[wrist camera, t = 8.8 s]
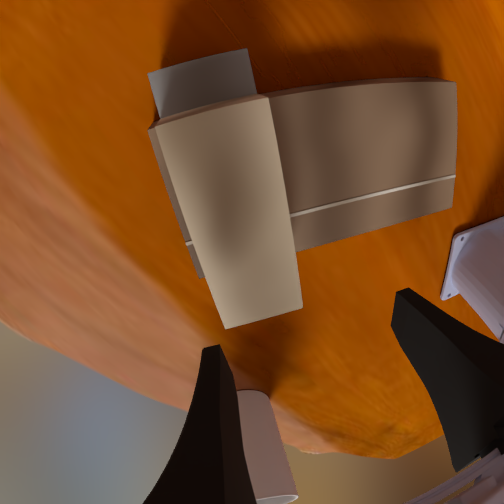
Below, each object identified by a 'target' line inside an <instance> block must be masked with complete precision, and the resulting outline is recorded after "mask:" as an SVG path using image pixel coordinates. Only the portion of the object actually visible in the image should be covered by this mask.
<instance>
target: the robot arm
mask: <svg viewBox="0 0 504 504" xmlns="http://www.w3.org/2000/svg"><path fill="white" fill-rule="evenodd" d="M459 293H460V294H461V295H462V296H463V298H464V299H465V300H466V301H467V302H468V303H469V304H470V306H471V307H472V308H473V309H474V310H475V311H476V313H477V314H478V315H479V316H480V317H481V318H482V320H483V321H484V322H485V323H486V324H487V326H488V327H489V328H490V329H491V331H492V332H493V333H494V334H495V336H496V337H497V338H498V339H499V341H500V342H497V341H495V340H493V339H491V338H489V337H487V336H485V335H483V334H481V333H479V332H477V331H475V330H473V329H471V328H470V327H468V326H466V325H464V324H463V323H461V322H459V321H458V320H456V319H455V318H453V317H451V316H450V315H448V314H447V313H445V312H444V311H442V310H441V309H439V308H438V307H436V306H435V305H433V304H432V303H431V302H429V301H428V300H426V299H425V298H423V297H422V296H420V295H419V294H417V293H416V292H414V291H413V290H411V289H410V288H406V289H403V290H400V291H398V292H396V296H395V303H394V309H393V315H392V321H391V327H392V329H393V332H394V334H395V336H396V338H397V340H398V342H399V344H400V346H401V348H402V349H403V351H404V353H405V354H406V356H407V358H408V359H409V361H410V362H411V364H412V366H413V367H414V369H415V370H416V372H417V374H418V375H419V377H420V378H421V380H422V382H423V383H424V385H425V387H426V389H427V391H428V393H429V395H430V397H431V399H432V402H433V404H434V406H435V409H436V411H437V414H438V417H439V419H440V422H441V425H442V428H443V431H444V434H445V437H446V440H447V444H448V447H449V452H450V455H451V460H452V465H453V467H454V469H455V471H456V472H458V471H460V470H461V469H463V468H465V467H466V466H468V465H469V464H471V463H472V462H474V461H475V460H477V459H478V458H480V457H481V460H479V461H478V462H476V463H475V464H473V465H472V466H470V467H469V468H467V469H466V470H464V471H462V472H461V473H459V474H458V475H456V476H454V477H453V478H451V479H449V480H448V481H446V482H444V483H442V484H441V485H439V486H437V487H435V488H433V489H431V490H429V491H428V492H426V493H424V494H422V495H420V496H418V497H416V498H414V499H412V500H410V501H408V502H405V503H403V504H434V503H436V502H438V501H440V500H441V499H443V498H445V497H447V496H448V495H449V494H452V493H453V492H455V491H457V490H458V489H460V488H461V487H463V486H465V485H466V484H468V483H469V482H471V481H472V480H474V479H475V478H476V479H475V481H474V485H473V486H471V487H470V488H468V489H467V490H465V491H463V492H461V493H460V494H458V495H456V496H455V497H453V498H452V499H450V500H449V501H447V502H445V503H444V504H504V216H503V217H501V218H498V219H495V220H493V221H490V222H487V223H485V224H482V225H479V226H477V227H474V228H471V229H468V230H466V231H463V232H460V233H457V234H456V235H455V236H454V237H453V241H452V247H451V252H450V257H449V262H448V267H447V271H446V275H445V280H444V284H443V288H442V292H441V296H440V298H441V299H442V300H446V299H448V298H450V297H453V296H455V295H457V294H459ZM143 504H257V502H256V498H255V495H254V491H253V487H252V483H251V479H250V476H249V471H248V467H247V463H246V459H245V454H244V448H243V441H242V432H241V423H240V414H239V405H238V396H237V392H236V387H235V382H234V378H233V374H232V371H231V369H230V367H229V365H228V362H227V360H226V358H225V356H224V353H223V351H222V349H221V346H220V344H219V345H215V346H210V347H206V348H204V349H203V350H202V356H201V363H200V368H199V373H198V378H197V383H196V387H195V391H194V395H193V399H192V402H191V405H190V409H189V412H188V415H187V418H186V422H185V424H184V427H183V430H182V432H181V435H180V437H179V440H178V442H177V445H176V447H175V449H174V451H173V453H172V455H171V457H170V460H169V461H168V464H167V465H166V467H165V469H164V471H163V473H162V474H161V476H160V478H159V480H158V481H157V483H156V485H155V486H154V488H153V490H152V491H151V492H150V494H149V495H148V497H147V498H146V500H145V501H144V503H143Z"/></svg>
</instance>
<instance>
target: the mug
mask: <svg viewBox="0 0 504 504" xmlns="http://www.w3.org/2000/svg"><path fill="white" fill-rule="evenodd" d="M236 392H237V396H238V405H239V414H240V423H241V432H242V441H243V448H244V454H245V459H246V463H247V467H248V471H249V476H250V479H251V483H252V487H253V491H254V495H255V498H256V502H257V504H286V503H289V502H292V501H294V500H296V499H297V498H298V494H297V490H296V486H295V483H294V480H293V476H292V473H291V470H290V466H289V463H288V460H287V457H286V453H285V450H284V446H283V443H282V440H281V436H280V433H279V430H278V426H277V423H276V419H275V416H274V413H273V409H272V406H271V403H270V400H269V398H268V396H267V395H266V394H264V393H262V392H260V391H255V390H241V391H236Z"/></svg>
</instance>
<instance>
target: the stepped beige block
mask: <svg viewBox="0 0 504 504" xmlns="http://www.w3.org/2000/svg"><path fill="white" fill-rule="evenodd" d="M148 77H149V81H150V84H151V88H152V92H153V95H154V99H155V102H156V106H157V109H158V113H159V116H160V120H159V121H158V123H157V124H156V126H155V130H156V133H157V136H158V139H159V143H160V146H161V149H162V152H163V155H164V159H165V162H166V165H167V168H168V171H169V174H170V177H171V180H172V183H173V186H174V190H175V193H176V196H177V199H178V202H179V204H180V207H181V210H182V213H183V216H184V219H185V222H186V225H187V228H188V231H189V233H190V236H191V239H192V242H193V245H194V248H195V250H196V253H197V256H198V259H199V261H200V264H201V267H202V270H203V272H204V275H205V278H206V280H207V283H208V286H209V288H210V291H211V294H212V296H213V299H214V302H215V304H216V307H217V309H218V312H219V314H220V317H221V320H222V322H223V325H224V327H225V329H229V328H232V327H236V326H240V325H244V324H248V323H251V322H255V321H259V320H262V319H266V318H269V317H273V316H276V315H280V314H283V313H287V312H290V311H294V310H297V309H300V308H303V303H302V295H301V288H300V281H299V274H298V267H297V260H296V253H295V246H294V240H293V233H292V227H291V221H290V214H289V208H288V202H287V196H286V190H285V184H284V179H283V173H282V167H281V162H280V156H279V151H278V145H277V140H276V134H275V129H274V124H273V119H272V114H271V109H270V104H269V99H268V97H266V96H263V95H260V94H257V91H256V86H255V82H254V77H253V73H252V68H251V63H250V59H249V55H248V50H247V48H245V49H240V50H235V51H230V52H225V53H220V54H216V55H212V56H207V57H203V58H199V59H195V60H191V61H188V62H184V63H180V64H177V65H173V66H170V67H167V68H163V69H160V70H157V71H154V72H151V73H148Z"/></svg>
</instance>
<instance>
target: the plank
mask: <svg viewBox="0 0 504 504" xmlns="http://www.w3.org/2000/svg"><path fill="white" fill-rule="evenodd" d="M260 95H263V96H266V97H268V99H269V104H270V109H271V114H272V119H273V124H274V129H275V134H276V140H277V145H278V151H279V156H280V162H281V167H282V173H283V179H284V184H285V190H286V196H287V202H288V208H289V214H290V221H291V227H292V233H293V240H294V246H295V252H298V251H302V250H305V249H309V248H313V247H316V246H320V245H323V244H327V243H330V242H334V241H337V240H341V239H345V238H348V237H352V236H355V235H359V234H362V233H366V232H369V231H373V230H376V229H380V228H383V227H387V226H390V225H394V224H397V223H400V222H404V221H407V220H411V219H414V218H418V217H421V216H425V215H428V214H431V213H435V212H438V211H442V210H445V209H448V208H452V201H453V192H454V182H455V169H456V152H457V89H456V82H453V81H448V80H444V79H439V78H433V77H407V78H382V79H366V80H354V81H344V82H334V83H326V84H318V85H311V86H304V87H297V88H291V89H285V90H279V91H274V92H268V93H263V94H260ZM158 121H159V120H158ZM158 121H155V122H153V123H152V124H151V126H150V127H149V129H148V134H149V137H150V140H151V143H152V146H153V149H154V153H155V156H156V159H157V162H158V165H159V168H160V171H161V174H162V177H163V180H164V183H165V186H166V189H167V192H168V195H169V197H170V200H171V203H172V206H173V209H174V212H175V215H176V217H177V220H178V223H179V226H180V228H181V231H182V234H183V237H184V239H185V242H186V245H187V248H188V250H189V253H190V256H191V258H192V261H193V263H194V266H195V269H196V271H197V274H198V276H199V279H200V278H203V277H205V275H204V272H203V270H202V267H201V264H200V261H199V259H198V256H197V253H196V250H195V248H194V245H193V242H192V239H191V236H190V233H189V231H188V228H187V225H186V222H185V219H184V216H183V213H182V210H181V207H180V204H179V202H178V199H177V196H176V193H175V190H174V186H173V183H172V180H171V177H170V174H169V171H168V168H167V165H166V162H165V159H164V155H163V152H162V149H161V146H160V143H159V139H158V136H157V133H156V130H155V126H156V124H157V123H158Z"/></svg>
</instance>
